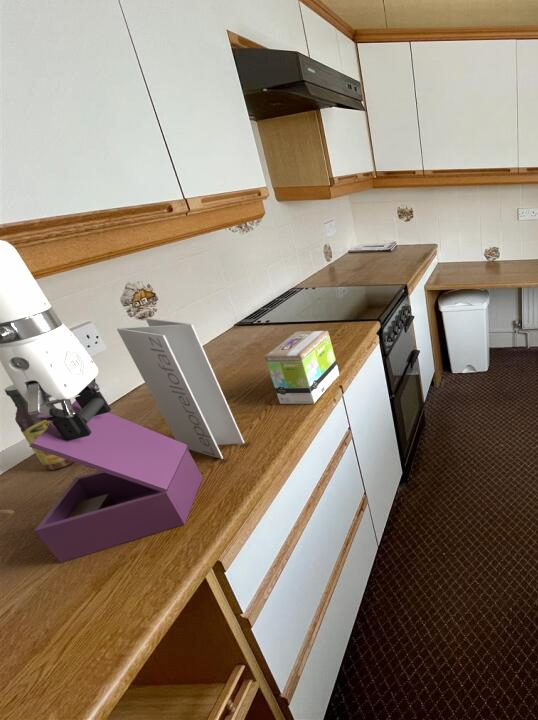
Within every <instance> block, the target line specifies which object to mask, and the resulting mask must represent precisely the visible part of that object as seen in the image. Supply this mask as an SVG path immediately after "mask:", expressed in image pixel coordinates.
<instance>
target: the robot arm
mask: <svg viewBox="0 0 538 720" xmlns="http://www.w3.org/2000/svg"><path fill="white" fill-rule="evenodd" d="M0 363H1V365H2V367H3V370H4V371H5V372H6V375H7V376H8V377H9V379H10V381H11V382H12V385H13V384H14V385H15V387H16V388H17V390H18V391H19V392H20V394H21V395H22V396H23V398H24V399H25V400H26V401H27V402H28V414H29V415H30V416H34V417H39V418H41V419H44V420H47V422H49V423H51V422H52V423H53V425H54V426H55V427H56V429H57V430H58V431H59V433H60V434H61V436H62V437H63V438H64V440H66V441H70V440H74V439H78V438H82V437H86V436H89V435H90V434H91V433H92V432H91V430H90V429H89V427H88V426H87V424H86V423H85V421H84V420H83V418H82V417H81V415H80V414H79V413H77V414H75V413H74V410H73V407H72V401H71V399H74V400H75V401H77V402H78V404H79V405H80V407H81V408H82V409H83V408H84V407H85V406H86V405H87V404H88V403H89V402H90V400H91V399H93V398H100V399H102V400H103V401H104V405H103V406H102V407H101V408H100V409H99V411H98V412H97V413H96V414H95V415H94V416H96V415H100V414H104V413H111V410H112V408H111V406H110V405H109V403H108V402H107V400H106V399H105V397H104V395H103V394H102V392H101V391H100V384H98V383H97V382H96V377H97V376H98V375H99V367H98V366H97V365H96V363H95V361H94V360H93V358H92V357H91V355H90V354H89V353H88V351H87V350H86V349H85V347H84V345H82V343H81V342H80V340H79V339H78V338H77V336H76V335H75V334H74V333H73V332H72V331H71V330H70V329H69V328H68V327H67V326H66V325H65V324H64V323H63V322H62V321H61V318H60V317H59V316H58V314H57V312H56V311H55V309H54V308H53V306H52V305H51V303H50V302H49V300H48V299H47V297H46V295H45V294H44V292H43V290H42V289H41V287H40V285H39V283H38V282H37V281H36V279H35V277H34V276H33V275H32V273H31V271H30V270H29V267H28V266H27V265H26V262H24V260H23V258H22V257H21V254H19V252H18V251H17V249H16V248H15V247H14V246H13V245H12V244H10V243H9V242H7V241H6V240H2V239H0ZM51 398H54V399H53V400H50V399H51ZM53 404H54V405H56V404H60V405H61V408H57V407H56V408H53Z"/></svg>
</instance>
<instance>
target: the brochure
mask: <svg viewBox="0 0 538 720" xmlns="http://www.w3.org/2000/svg"><path fill="white" fill-rule="evenodd" d="M145 320H146V323H147V325H148V326H136V327H135V326H134V327H119V328H116V331H117V332H118V334H119V336H120V339H121V340H122V342H123V344H124V346H125V347H126V349H127V351H128V353H129V355H130V357H131V359H132V360H133V363H134V365H135V366H136V369H137V370H138V372H139V374H140V375H141V378H142V379H143V381H144V384H145V385H146V387H147V389H148V391H149V393H150V395H151V397H152V399H153V400H154V402H155V404H156V406H157V407H158V410H159V411H160V413H161V416H162V417H163V419H164V421H165V423H166V425H167V426H168V428H169V430H170V432H171V434H172V436H173V439H174V440H176V441H179V442H181V443H184V444H186V445H188V446H187V448H186V449H188V450H189V451H194V452H196V453H200V454H203V455H206V456H209V457H210V456H211V457H213V458H217V459H221V460H223V459H224V456H223V455H222V452H221V451H220V448H219V446H221V445H222V446H223V445H224V446H225V445H242V444H245V440H244V438H243V435H242V433H241V431H240V429H239V427H238V424H237V422H236V420H235V417H234V415H233V413H232V410H231V408H230V406H229V404H228V401H227V400H226V397H225V395H224V393H223V391H222V388H221V385H220V383H219V382H218V379H217V376H216V375H215V372H214V370H213V368H212V365H211V363H210V360H209V358H208V355H207V354H206V351H205V349H204V347H203V345H202V343H201V341H200V338H199V336H198V334H197V331H196V329H195V326H194V324H193V323H187V322H181V321H173V320H165V319H164V320H163V319H155V318H149V317H148V318H147V317H146V318H145Z"/></svg>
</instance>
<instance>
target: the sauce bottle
mask: <svg viewBox="0 0 538 720" xmlns="http://www.w3.org/2000/svg"><path fill="white" fill-rule="evenodd" d="M4 392H5V394H6V396H8V397H10V399H11V401H12V402H13V404H14V406H15V407H16V412H15V418H14V419H15V422H16V424H17V426H18V428H19V430H20V431H21V433H22V435H23V436H24V438H25V440H26V441H27V443H28V444H29V446H30V445H31V444H32V443H33V442H34V441H35V440H36V439H37V438H38V437H39V436H40V435H41V434H42V433H43V432H44V431H45V430H46V429H47V428H48V427H49V426H50V425H51V424H52V422H51V423H49V422H47V420H44V419H41V418H39V417H34V416H30V415H29V414H28V402H27V401H26V400H25V399H24V398H23V396H22V395H21V394H20V392H19V391H18V390H17V388H16V387H15V385H14V384H13V383H12V384H11V385H9V386H7V387H5V388H4ZM53 408H57V406H56V405H55V404H53ZM31 449H32V450H33V452H34V453H35V455H36V457H37V458H38V460H39V461H40V464H42V465H43V466H44V468H45V469H46V470H49V471H54V470H58V469H62V468H66V467H68V466H70V465H72V464H74V463H75V462H73V461H70V460H67V459H64V458H61V457H58V456H55V455H52V454H49V453H46V452H43V451H41V450H38V449H35V448H32V447H31Z"/></svg>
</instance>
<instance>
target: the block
mask: <svg viewBox="0 0 538 720" xmlns="http://www.w3.org/2000/svg"><path fill="white" fill-rule="evenodd" d="M113 505H116V504H115V502H114V501H113V499H112V498H111V496H110V495H109V494H105V495H102V496H98V497H94V498H91V499H87V500H84V501H80V502H78V503H77V505H76V506H75V508H74V509H73V510H72V512H71V513H70V515H69V516H68V517H67V518H71V517H74V516H78V515H82V514H85V513H89V512H92V511H96V510H99V509H103V508H106V507H110V506H113Z"/></svg>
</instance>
